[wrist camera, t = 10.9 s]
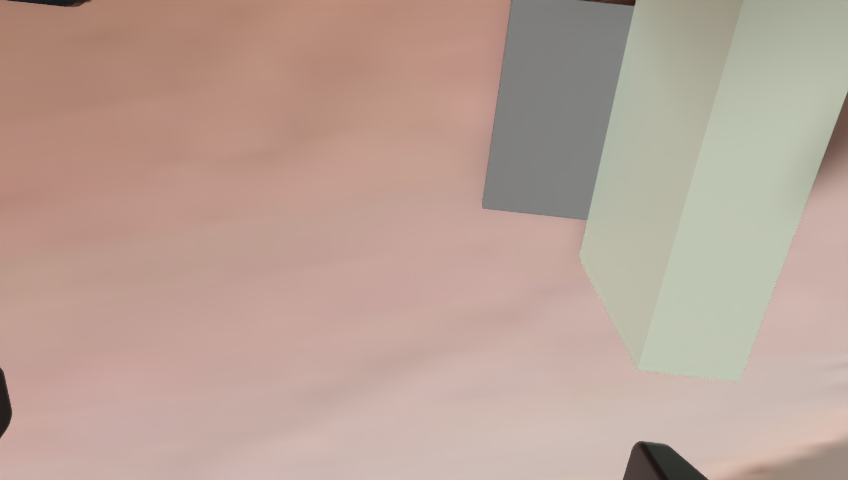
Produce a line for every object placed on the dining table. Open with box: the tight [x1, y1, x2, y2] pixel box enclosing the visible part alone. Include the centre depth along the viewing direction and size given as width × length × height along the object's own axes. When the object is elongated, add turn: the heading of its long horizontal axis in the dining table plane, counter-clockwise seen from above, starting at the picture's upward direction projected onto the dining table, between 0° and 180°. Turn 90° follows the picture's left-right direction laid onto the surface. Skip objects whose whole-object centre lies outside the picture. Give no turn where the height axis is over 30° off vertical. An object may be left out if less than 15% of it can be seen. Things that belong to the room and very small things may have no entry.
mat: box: [482, 0, 635, 220], centre depth 18 cm, size 10×7×1 cm
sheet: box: [579, 0, 848, 382], centre depth 15 cm, size 2×10×7 cm, turn 175°
